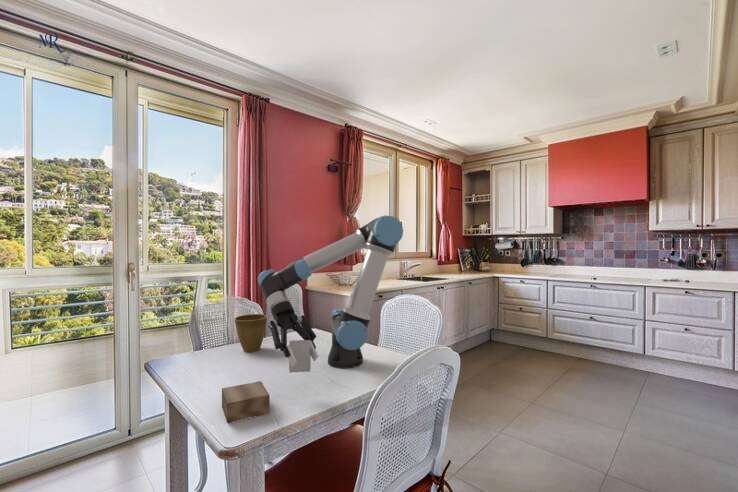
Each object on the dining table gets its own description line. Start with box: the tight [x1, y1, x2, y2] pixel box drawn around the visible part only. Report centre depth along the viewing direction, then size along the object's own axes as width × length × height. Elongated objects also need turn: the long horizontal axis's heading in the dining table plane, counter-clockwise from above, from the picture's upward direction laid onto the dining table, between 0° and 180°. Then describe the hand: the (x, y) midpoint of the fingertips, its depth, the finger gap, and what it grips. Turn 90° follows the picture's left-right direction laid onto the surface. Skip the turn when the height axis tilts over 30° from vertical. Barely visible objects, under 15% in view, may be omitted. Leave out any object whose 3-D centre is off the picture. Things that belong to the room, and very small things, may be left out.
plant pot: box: [234, 313, 268, 353], centre depth 171 cm, size 15×15×16 cm
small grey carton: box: [288, 339, 312, 373], centre depth 120 cm, size 4×7×10 cm, turn 95°
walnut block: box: [221, 380, 270, 424], centre depth 110 cm, size 12×12×6 cm
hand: (305, 361), depth 118 cm, fingers closed on small grey carton, 8 cm apart
